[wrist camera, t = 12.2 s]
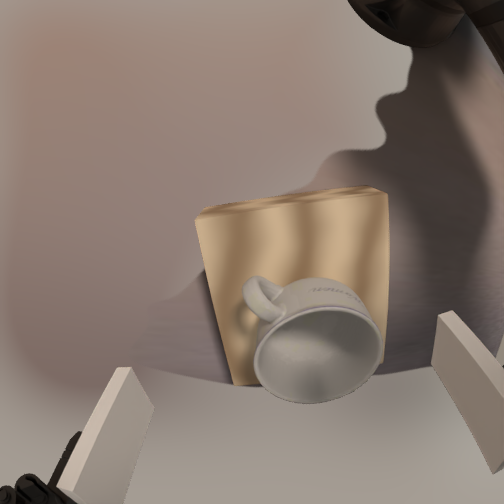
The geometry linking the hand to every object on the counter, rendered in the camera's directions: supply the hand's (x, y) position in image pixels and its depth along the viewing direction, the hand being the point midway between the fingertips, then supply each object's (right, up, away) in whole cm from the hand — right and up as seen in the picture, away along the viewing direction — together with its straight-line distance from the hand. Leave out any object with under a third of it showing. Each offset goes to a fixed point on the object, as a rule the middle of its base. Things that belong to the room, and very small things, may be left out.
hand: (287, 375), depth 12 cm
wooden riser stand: (+4, +2, +24) cm, 25 cm away
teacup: (+3, 0, +19) cm, 19 cm away
